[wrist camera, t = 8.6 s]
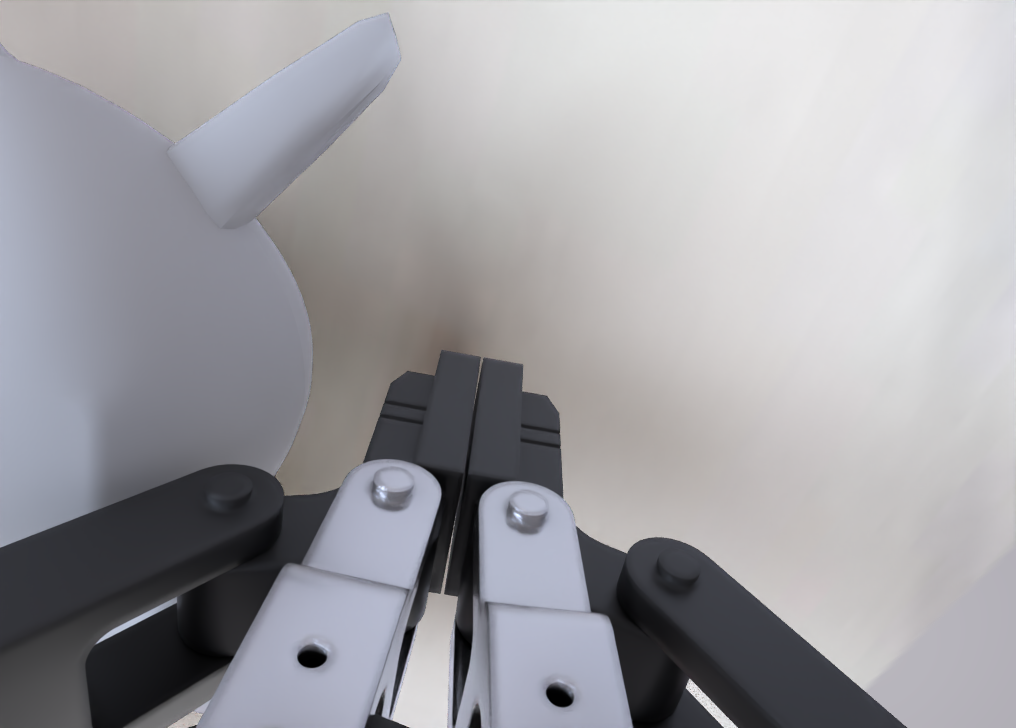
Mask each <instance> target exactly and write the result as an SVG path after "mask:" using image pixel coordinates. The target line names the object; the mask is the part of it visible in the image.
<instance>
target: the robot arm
mask: <svg viewBox="0 0 1016 728" xmlns="http://www.w3.org/2000/svg"><path fill="white" fill-rule="evenodd" d="M480 359H481V357H478V356H473V355H467V354H462V353H456V352H451V351H445V350H441V354H440V358H439V362H438V366H437V370H436V374H435V376H432V375H427V374H421V373H416V372H410V371H407V372H406V373H404V374H403V375H402V376H400V377H399V378H397V379H396V380H395V381H393V382H392V383H391V384H390V387H389V390H388V393H387V396H386V398H385V403H384V404H383V407H382V410H381V413H380V417H379V418H378V421H377V424H376V427H375V430H374V433H373V436H372V438H371V441H370V444H369V447H368V450H367V453H366V456H365V458H364V461H363V464H361V465H358V466H357V467H355V468H354V469H352V470H351V471H350V472H349V473H348V474H347V476H346V477H345V479H344V481H343V483H342V485H341V487H339V488H337V489H335V490H332V491H328V492H324V493H319V494H311V495H294V496H284V491H283V488H282V486H281V484H280V482H279V481H278V480H277V479H276V478H275V477H274V476H272V475H271V474H270V473H268V472H266V471H264V470H262V469H259V468H256V467H253V466H248V465H240V464H225V465H216V466H212V467H208V468H205V469H201V470H199V471H196V472H194V473H191V474H188V475H186V476H183V477H181V478H178V479H176V480H173V481H170V482H168V483H165V484H163V485H160V486H158V487H155V488H152V489H150V490H147V491H145V492H142V493H139V494H137V495H134V496H132V497H129V498H127V499H124V500H121V501H119V502H116V503H114V504H111V505H109V506H106V507H103V508H101V509H98V510H96V511H93V512H91V513H88V514H85V515H83V516H80V517H78V518H75V519H73V520H70V521H67V522H65V523H62V524H60V525H57V526H55V527H52V528H49V529H47V530H44V531H42V532H39V533H37V534H34V535H31V536H29V537H26V538H24V539H21V540H19V541H16V542H13V543H11V544H8V545H6V546H3V547H1V548H0V728H167V727H168V726H170V725H172V724H173V723H175V722H176V721H178V720H180V719H181V718H183V717H184V716H186V715H187V714H189V713H191V712H192V711H194V710H195V709H197V708H198V707H200V706H202V705H203V704H205V703H206V702H208V701H209V700H211V701H210V702H209V704H208V706H207V708H206V710H205V712H204V714H203V715H202V717H201V719H200V721H199V723H198V725H195V726H192V727H189V728H409V727H406V726H404V725H402V724H399V723H397V722H394V721H392V719H393V715H394V712H395V708H396V705H397V701H398V698H399V694H400V691H401V687H402V683H403V680H404V676H405V673H406V669H407V666H408V662H409V658H410V655H411V651H412V648H413V644H414V641H415V637H416V632H417V627H418V622H419V621H420V620H421V618H422V617H423V615H424V612H425V608H426V603H427V597H428V592H432V593H438V594H440V593H441V588H442V583H443V578H444V573H445V568H446V563H447V557H448V552H449V547H450V542H451V537H452V532H453V538H452V545H451V552H450V558H449V565H448V572H447V579H446V586H445V592H444V594H446V595H452V596H458V601H457V609H456V615H455V620H454V625H453V629H452V634H451V640H450V665H449V695H448V724H447V728H723V727H722V726H721V724H720V723H719V722H718V721H717V720H716V719H715V718H714V717H713V716H712V715H711V714H710V713H709V712H708V711H707V710H706V709H705V708H704V707H703V706H702V705H701V704H700V703H699V702H698V701H697V700H696V699H695V697H694V696H693V695H692V694H691V693H690V692H689V691H688V690H687V689H686V688H685V687H686V685H687V683H688V681H689V678H690V679H691V680H692V681H693V682H694V683H695V684H696V685H697V686H698V687H699V688H700V689H701V690H702V691H703V692H704V693H705V694H706V695H707V696H708V697H709V698H710V699H711V700H712V701H713V702H714V704H715V705H716V706H717V707H718V708H719V709H720V710H721V711H722V712H723V713H724V714H725V715H726V716H727V717H728V718H729V719H730V720H731V721H732V722H733V723H734V724H735V725H736V726H737V727H738V728H907V727H906V726H904V725H903V724H902V723H901V722H900V721H899V720H897V719H896V718H895V717H894V716H893V715H892V714H891V713H889V712H888V711H887V710H886V709H885V708H884V707H882V706H881V705H880V704H879V703H878V702H877V701H875V700H874V699H873V698H872V697H871V696H870V695H868V694H867V693H866V692H865V691H864V690H863V689H861V688H860V687H859V686H858V685H857V684H856V683H854V682H853V681H852V680H851V679H850V678H849V677H847V676H846V675H845V674H844V673H843V672H842V671H840V670H839V669H838V668H837V667H836V666H835V665H833V664H832V663H831V662H830V661H829V660H828V659H826V658H825V657H824V656H823V655H822V654H821V653H820V652H818V651H817V650H816V649H815V648H814V647H813V646H811V645H810V644H809V643H808V642H807V641H806V640H804V639H803V638H802V637H801V636H800V635H799V634H797V633H796V632H795V631H794V630H793V629H792V628H790V627H789V626H788V625H787V624H786V623H785V622H783V621H782V620H781V619H780V618H779V617H778V616H776V615H775V614H774V613H773V612H772V611H771V610H769V609H768V608H767V607H766V606H765V605H764V604H762V603H761V602H760V601H759V600H758V599H757V598H755V597H754V596H753V595H752V594H751V593H750V592H748V591H747V590H746V589H745V588H744V587H743V586H742V585H740V584H739V583H738V582H737V581H736V580H735V579H733V578H732V577H731V576H730V575H729V574H728V573H726V572H725V571H724V570H723V569H722V568H721V567H719V566H718V565H717V564H716V563H715V562H714V561H712V560H711V559H710V558H709V557H708V556H706V555H705V554H704V553H702V552H701V551H699V550H698V549H696V548H694V547H692V546H690V545H688V544H686V543H683V542H680V541H678V540H673V539H669V538H660V537H654V538H647V539H643V540H640V541H638V542H637V543H635V544H634V545H633V546H632V547H631V548H630V549H629V551H628V553H624V552H622V551H619V550H617V549H614V548H612V547H610V546H607V545H605V544H603V543H600V542H598V541H596V540H594V539H593V538H591V537H589V536H588V535H586V534H585V533H584V532H582V531H581V530H580V529H579V528H578V527H577V526H576V524H575V519H574V515H573V512H572V510H571V508H570V506H569V505H568V504H567V502H566V501H565V500H564V499H563V483H562V462H561V449H560V446H561V441H560V420H559V412H558V411H557V409H556V408H555V407H554V405H553V404H552V402H551V401H550V399H549V398H548V397H547V396H545V395H539V394H534V393H528V392H522V381H523V364H518V363H512V362H507V361H501V360H496V359H490V358H485V357H484V358H483V363H482V367H481V373H480V378H479V383H478V388H477V393H476V387H477V380H478V373H479V366H480ZM475 394H476V398H475ZM474 401H475V404H474ZM473 408H474V409H473ZM455 517H456V518H455ZM454 522H455V525H454ZM453 527H454V531H453ZM176 597H177V603H175V604H173V605H171V606H169V607H167V608H165V609H163V610H162V611H160V612H158V613H156V614H154V615H152V616H150V617H148V618H146V619H144V620H142V621H140V622H138V623H136V624H134V625H132V626H130V627H128V628H127V629H125V630H123V631H121V632H119V633H117V634H115V635H113V636H111V637H109V638H107V639H105V640H103V641H101V642H99V643H97V642H98V641H99V640H100V639H101V638H102V637H103V636H104V635H106V634H107V633H108V632H110V631H111V630H113V629H115V628H116V627H118V626H120V625H122V624H124V623H126V622H128V621H130V620H132V619H134V618H136V617H138V616H140V615H142V614H144V613H146V612H148V611H150V610H152V609H154V608H156V607H158V606H160V605H162V604H164V603H166V602H168V601H170V600H172V599H174V598H176ZM96 643H97V644H96Z"/></svg>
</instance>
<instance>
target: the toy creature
mask: <svg viewBox="0 0 1016 728" xmlns="http://www.w3.org/2000/svg"><path fill="white" fill-rule="evenodd" d="M400 61H401V55H400V50H399V46H398V42H397V38H396V34H395V31H394V28H393V26H392V23H391V20H390V16H389V13H385V14H381V15H378V16H374V17H371V18H368V19H364V20H361V21H358V22H356V23H355V24H353V25H351V26H350V27H348V28H347V29H345V30H344V31H342V32H341V33H339V34H337V35H336V36H334V37H333V38H331V39H330V40H328V41H327V42H325V43H323V44H322V45H320V46H319V47H317V48H316V49H314V50H312V51H311V52H309V53H308V54H306V55H305V56H303V57H301V58H300V59H298V60H297V61H295V62H294V63H292V64H290V65H289V66H287V67H286V68H284V69H283V70H281V71H279V72H278V73H276V74H275V75H273V76H272V77H270V78H269V79H268V80H266V81H265V82H263V83H262V84H260V85H259V86H258V87H256V88H255V89H253V90H252V91H250V92H249V93H247V94H246V95H245V96H243V97H242V98H240V99H239V100H237V101H236V102H234V103H233V104H232V105H230V106H229V107H227V108H226V109H224V110H223V111H222V112H220V113H219V114H217V115H216V116H214V117H213V118H211V119H210V120H209V121H207V122H206V123H204V124H203V125H201V126H200V127H198V128H197V129H196V130H194V131H193V132H191V133H190V134H188V135H187V136H185V137H184V138H183V139H181V140H180V141H178V142H177V143H173V142H172V141H171V140H169V139H168V138H166V137H165V136H164V135H162V134H161V133H159V132H158V131H156V130H155V129H154V128H152V127H151V126H149V125H148V124H146V123H145V122H143V121H142V120H140V119H139V118H137V117H136V116H134V115H132V114H131V113H129V112H127V111H126V110H124V109H123V108H121V107H119V106H117V105H116V104H114V103H112V102H110V101H108V100H107V99H105V98H103V97H101V96H99V95H97V94H96V93H94V92H92V91H90V90H88V89H87V88H85V87H83V86H81V85H78V84H76V83H74V82H72V81H69V80H67V79H65V78H62V77H60V76H58V75H56V74H53V73H51V72H49V71H46V70H44V69H41V68H38V67H36V66H33V65H30V64H28V63H25V62H21V61H19V60H17V59H16V58H15V57H14V56H12V55H11V54H10V53H9V52H8V51H7V50H6V49H5V48H4V47H3V45H2V44H1V43H0V548H1V547H3V546H6V545H8V544H11V543H13V542H16V541H19V540H21V539H24V538H26V537H29V536H31V535H34V534H37V533H39V532H42V531H44V530H47V529H49V528H52V527H55V526H57V525H60V524H62V523H65V522H67V521H70V520H73V519H75V518H78V517H80V516H83V515H85V514H88V513H91V512H93V511H96V510H98V509H101V508H103V507H106V506H109V505H111V504H114V503H116V502H119V501H121V500H124V499H127V498H129V497H132V496H134V495H137V494H139V493H142V492H145V491H147V490H150V489H152V488H155V487H158V486H160V485H163V484H165V483H168V482H170V481H173V480H176V479H178V478H181V477H183V476H186V475H188V474H191V473H194V472H196V471H199V470H201V469H205V468H208V467H212V466H216V465H225V464H240V465H248V466H253V467H256V468H259V469H262V470H264V471H266V472H268V473H270V474H271V475H272V476H275V475H276V473H277V471H278V469H279V468H280V466H281V464H282V463H283V461H284V459H285V458H286V456H287V454H288V452H289V450H290V448H291V446H292V444H293V442H294V439H295V437H296V434H297V432H298V429H299V426H300V423H301V421H302V418H303V415H304V412H305V410H306V406H307V403H308V399H309V395H310V389H311V383H312V367H313V344H312V334H311V326H310V322H309V317H308V313H307V310H306V306H305V303H304V300H303V297H302V295H301V292H300V290H299V288H298V285H297V283H296V280H295V278H294V276H293V275H292V273H291V271H290V269H289V267H288V265H287V263H286V261H285V260H284V258H283V256H282V255H281V253H280V251H279V250H278V248H277V247H276V245H275V244H274V242H273V241H272V239H271V238H270V237H269V235H268V234H267V232H266V231H265V230H264V228H263V227H262V226H261V224H260V223H259V222H258V220H257V219H256V218H255V217H256V216H258V215H259V214H260V213H261V212H262V211H263V210H264V209H265V208H266V207H267V206H268V205H269V204H270V203H271V202H272V201H273V200H274V199H275V198H276V197H277V196H278V195H280V194H281V193H282V192H283V191H284V190H285V189H286V188H287V187H288V186H289V185H290V184H291V183H292V182H293V181H294V180H295V179H296V178H297V177H298V176H299V175H300V174H301V173H303V172H304V171H305V170H306V169H307V168H308V167H309V166H310V165H311V164H312V163H313V162H314V161H315V160H316V159H317V158H318V157H319V156H320V155H321V154H322V153H323V152H325V151H326V150H327V148H328V147H329V146H330V145H331V144H332V143H333V142H334V141H335V140H336V139H337V138H338V137H339V136H340V135H341V134H342V133H343V132H344V131H345V130H346V129H347V128H348V127H349V126H350V125H351V124H352V123H353V122H354V121H355V119H356V118H357V117H358V116H359V115H360V114H361V113H362V112H363V111H364V110H365V109H366V108H367V107H368V106H369V105H370V104H371V103H372V102H373V101H374V100H375V99H376V98H377V97H378V96H379V95H380V94H381V93H382V92H383V90H384V89H385V87H386V85H387V83H388V82H389V80H390V78H391V76H392V75H393V73H394V71H395V69H396V68H397V66H398V64H399V62H400ZM175 603H177V597H176V598H174V599H172V600H170V601H168V602H166V603H164V604H162V605H160V606H158V607H156V608H154V609H152V610H150V611H148V612H146V613H144V614H142V615H140V616H138V617H136V618H134V619H132V620H130V621H128V622H126V623H124V624H122V625H120V626H118V627H116V628H115V629H113V630H111V631H110V632H108V633H107V634H106V635H104V636H103V637H102V638H101V639H100V640H99V641H98V642H97V643H99V642H101V641H103V640H105V639H107V638H109V637H111V636H113V635H115V634H117V633H119V632H121V631H123V630H125V629H127V628H128V627H130V626H132V625H134V624H136V623H138V622H140V621H142V620H144V619H146V618H148V617H150V616H152V615H154V614H156V613H158V612H160V611H162V610H163V609H165V608H167V607H169V606H171V605H173V604H175ZM97 643H96V644H97ZM210 701H211V700H209V701H208V702H206V703H205V704H203V705H202V706H200V707H198V708H197V709H195V710H194V712H198V713H202V714H204V712H205V710H206V708H207V706H208V704H209V702H210Z"/></svg>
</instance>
